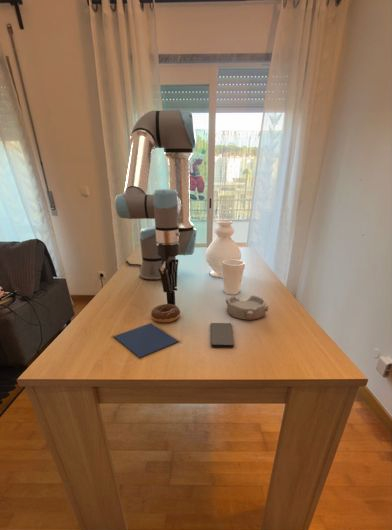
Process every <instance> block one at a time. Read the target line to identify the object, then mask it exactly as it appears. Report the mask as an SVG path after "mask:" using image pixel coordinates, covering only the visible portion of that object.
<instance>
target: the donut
mask: <svg viewBox="0 0 392 530" xmlns="http://www.w3.org/2000/svg"><path fill="white" fill-rule="evenodd" d="M150 316H151V318H152V319H153V320H154V321H155V322H158V323H172V322H174V321H176V320H178V319H179V318H180V316H181V309H180V308H179V307H178V306H177V305H176V304H175V305H173V304H167V303H162V304H158V305H157V306H155V307H153V308H152V309H151V311H150Z"/></svg>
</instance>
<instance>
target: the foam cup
mask: <svg viewBox="0 0 392 530" xmlns="http://www.w3.org/2000/svg"><path fill="white" fill-rule="evenodd" d="M245 267H246V261H244V260H241V259H240V260H237V259H228V260H224V261H223V262H222V268H223V278H222V280H223V291H224V293H225V294H227V295H238V294H239V293H240V288H241V283H242V279H243V275H244V270H245Z"/></svg>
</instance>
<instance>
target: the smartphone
mask: <svg viewBox="0 0 392 530" xmlns="http://www.w3.org/2000/svg"><path fill="white" fill-rule="evenodd" d="M210 346H211V347H213V348H233V347H234V346H235V343H234V336H233V330H232V324H231V322H211V323H210Z"/></svg>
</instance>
